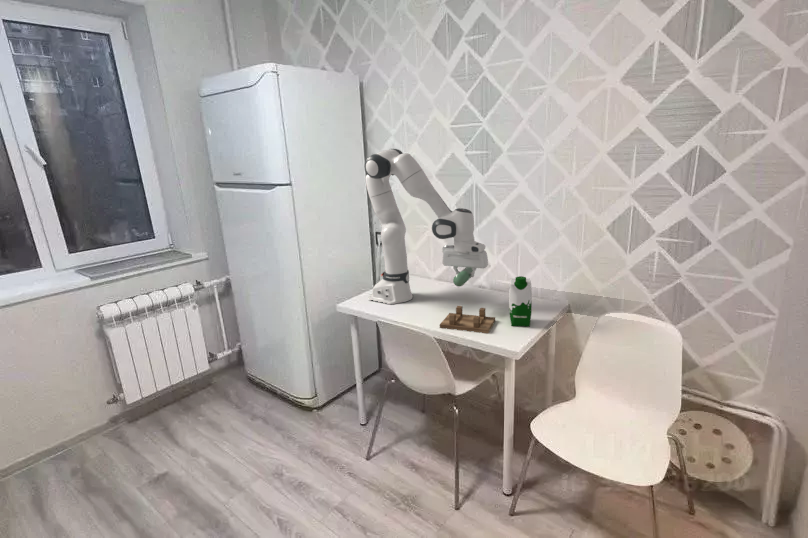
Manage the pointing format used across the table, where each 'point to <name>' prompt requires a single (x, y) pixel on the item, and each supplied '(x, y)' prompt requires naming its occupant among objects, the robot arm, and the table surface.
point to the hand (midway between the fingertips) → (465, 276)
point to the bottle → (462, 277)
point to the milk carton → (520, 301)
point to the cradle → (468, 321)
